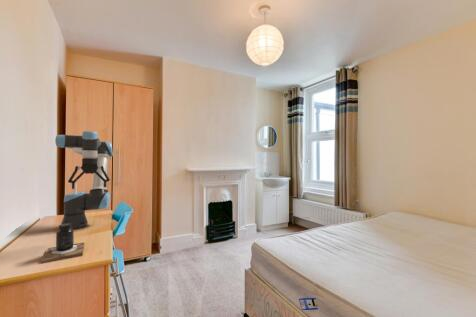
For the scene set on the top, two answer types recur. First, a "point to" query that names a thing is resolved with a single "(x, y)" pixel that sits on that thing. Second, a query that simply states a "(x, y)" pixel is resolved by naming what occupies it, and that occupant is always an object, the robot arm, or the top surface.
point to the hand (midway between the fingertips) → (89, 193)
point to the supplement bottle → (64, 237)
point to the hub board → (63, 253)
